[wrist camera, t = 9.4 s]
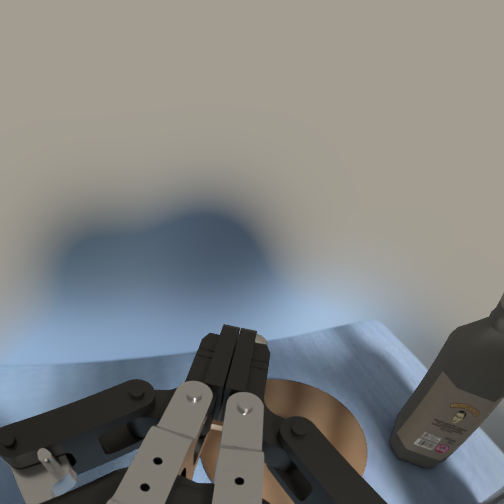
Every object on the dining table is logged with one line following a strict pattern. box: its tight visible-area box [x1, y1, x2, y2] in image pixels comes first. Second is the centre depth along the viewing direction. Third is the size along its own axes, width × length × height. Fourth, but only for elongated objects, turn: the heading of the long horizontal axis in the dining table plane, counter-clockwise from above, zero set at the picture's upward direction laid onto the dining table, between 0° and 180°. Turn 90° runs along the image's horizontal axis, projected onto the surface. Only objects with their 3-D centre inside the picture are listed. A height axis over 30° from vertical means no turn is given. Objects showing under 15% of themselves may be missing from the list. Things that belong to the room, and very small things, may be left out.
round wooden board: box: [200, 380, 367, 504], centre depth 32 cm, size 20×20×2 cm
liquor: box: [390, 294, 504, 468], centre depth 27 cm, size 9×9×30 cm
